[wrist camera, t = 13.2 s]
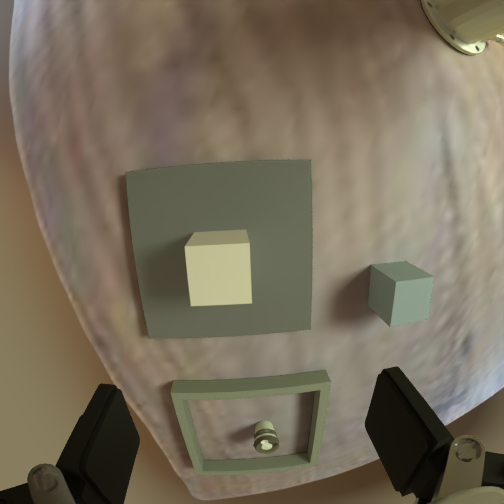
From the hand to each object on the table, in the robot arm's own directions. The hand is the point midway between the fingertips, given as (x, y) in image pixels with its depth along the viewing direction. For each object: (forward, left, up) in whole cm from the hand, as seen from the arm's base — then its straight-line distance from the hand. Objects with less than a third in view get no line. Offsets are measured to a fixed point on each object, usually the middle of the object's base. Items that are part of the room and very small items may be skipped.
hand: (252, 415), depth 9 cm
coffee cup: (-2, +26, -23) cm, 34 cm away
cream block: (+2, 0, -21) cm, 21 cm away
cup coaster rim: (0, +26, -22) cm, 34 cm away
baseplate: (+2, 0, -22) cm, 22 cm away
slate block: (-17, +5, -22) cm, 29 cm away
